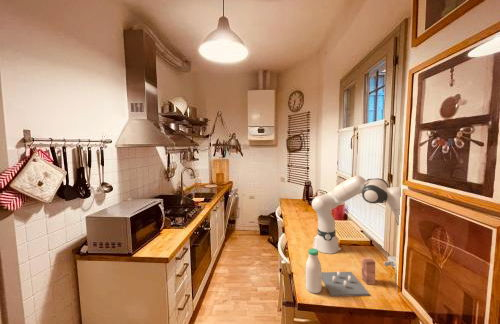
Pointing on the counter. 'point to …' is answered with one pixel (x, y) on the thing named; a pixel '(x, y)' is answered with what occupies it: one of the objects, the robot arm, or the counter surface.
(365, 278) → the terracotta post
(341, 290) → the peg plate
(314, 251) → the milk bottle
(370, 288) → the counter surface
